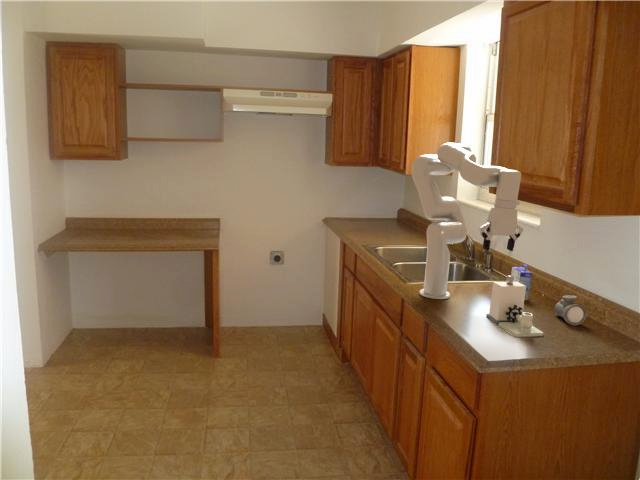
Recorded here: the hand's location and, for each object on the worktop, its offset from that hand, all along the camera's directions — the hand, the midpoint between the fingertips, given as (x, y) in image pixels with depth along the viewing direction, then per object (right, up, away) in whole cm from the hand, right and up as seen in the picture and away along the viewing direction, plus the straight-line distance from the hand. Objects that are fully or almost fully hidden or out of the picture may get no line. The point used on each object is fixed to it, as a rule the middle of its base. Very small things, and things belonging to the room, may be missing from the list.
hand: (497, 250), depth 205 cm
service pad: (+6, -29, -5) cm, 30 cm away
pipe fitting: (+29, -27, +9) cm, 41 cm away
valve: (+6, -28, -6) cm, 29 cm away
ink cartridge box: (+20, -21, +36) cm, 46 cm away
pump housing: (+4, -26, +5) cm, 27 cm away
